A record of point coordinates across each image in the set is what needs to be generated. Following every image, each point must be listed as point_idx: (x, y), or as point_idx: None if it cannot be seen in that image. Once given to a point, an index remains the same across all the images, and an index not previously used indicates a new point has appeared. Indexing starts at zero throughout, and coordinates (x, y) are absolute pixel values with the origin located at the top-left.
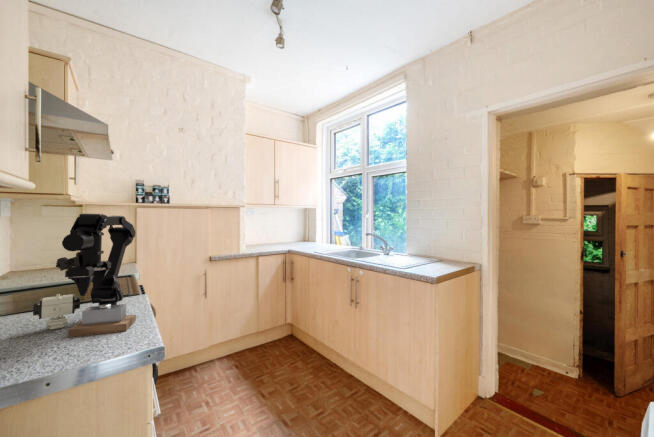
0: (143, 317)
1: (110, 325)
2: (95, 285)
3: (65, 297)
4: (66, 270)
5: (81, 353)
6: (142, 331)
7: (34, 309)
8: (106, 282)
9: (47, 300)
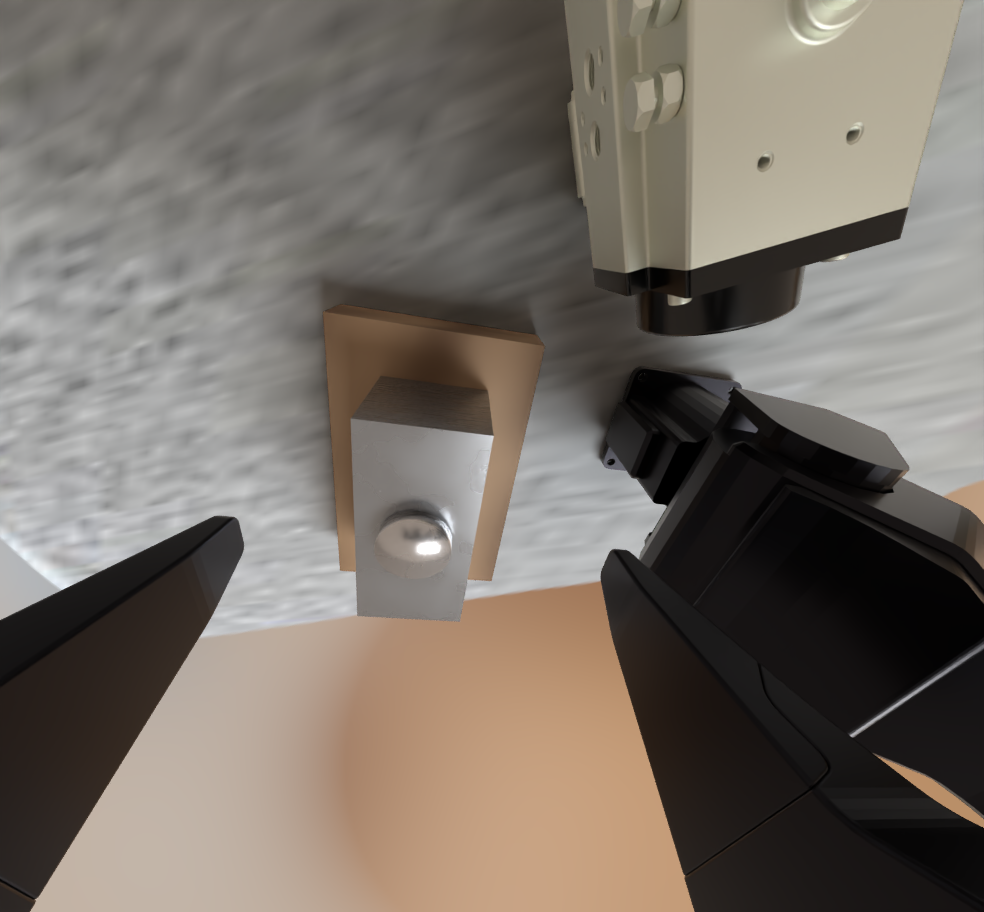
0: (534, 572)
1: (337, 515)
2: (625, 612)
3: (696, 164)
4: None
5: (80, 440)
6: (324, 591)
7: None
8: (790, 658)
9: None
